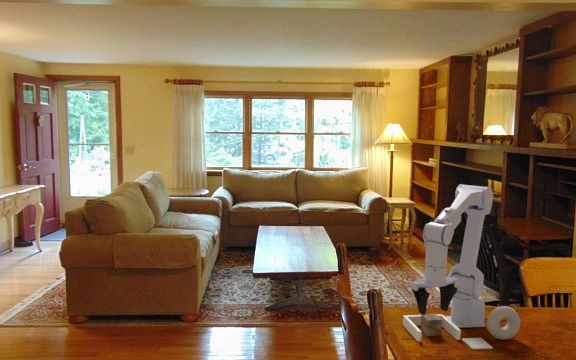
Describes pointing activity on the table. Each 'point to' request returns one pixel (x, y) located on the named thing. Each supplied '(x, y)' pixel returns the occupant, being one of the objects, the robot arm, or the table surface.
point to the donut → (512, 322)
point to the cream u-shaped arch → (415, 320)
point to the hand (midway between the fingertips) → (433, 311)
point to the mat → (476, 343)
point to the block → (431, 325)
